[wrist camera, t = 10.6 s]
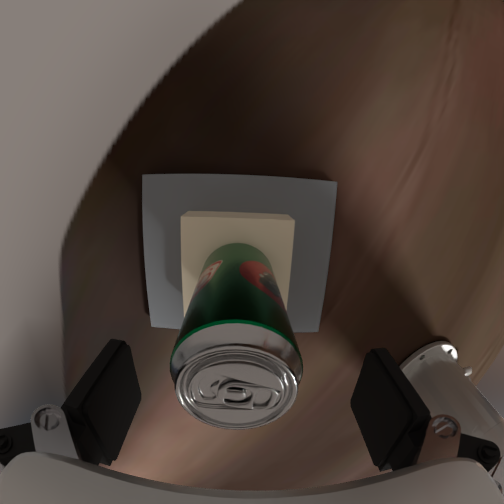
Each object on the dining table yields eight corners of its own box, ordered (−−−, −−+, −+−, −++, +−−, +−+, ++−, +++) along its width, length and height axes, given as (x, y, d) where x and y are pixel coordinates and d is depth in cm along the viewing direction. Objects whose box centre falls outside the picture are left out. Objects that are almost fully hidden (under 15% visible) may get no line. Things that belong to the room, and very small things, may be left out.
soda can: (209, 234, 19) (166, 323, 8) (279, 248, 20) (329, 348, 8) (198, 298, 20) (162, 423, 9) (263, 310, 21) (285, 439, 9)
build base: (332, 181, 22) (351, 183, 18) (315, 325, 26) (326, 349, 22) (147, 174, 22) (128, 175, 18) (154, 320, 25) (142, 343, 21)
